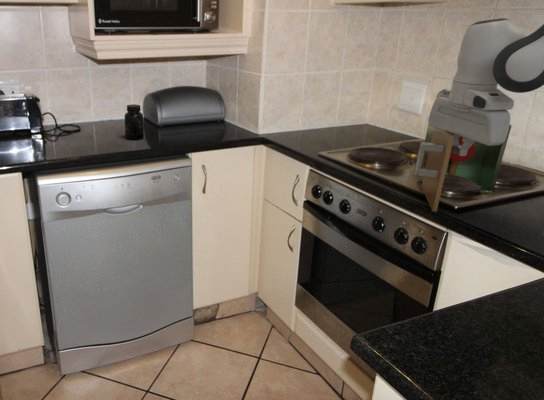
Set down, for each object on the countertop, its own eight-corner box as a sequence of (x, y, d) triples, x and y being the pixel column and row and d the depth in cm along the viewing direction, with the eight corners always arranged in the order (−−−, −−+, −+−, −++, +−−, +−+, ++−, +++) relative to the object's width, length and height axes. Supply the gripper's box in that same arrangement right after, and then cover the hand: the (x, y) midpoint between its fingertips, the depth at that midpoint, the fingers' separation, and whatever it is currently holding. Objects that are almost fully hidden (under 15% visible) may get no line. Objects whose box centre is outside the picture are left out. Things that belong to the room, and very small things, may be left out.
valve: (464, 174, 138) (476, 123, 132) (467, 179, 134) (480, 127, 128) (437, 171, 140) (448, 121, 135) (440, 176, 136) (452, 125, 130)
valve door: (408, 208, 118) (424, 135, 111) (400, 185, 133) (413, 119, 126) (436, 211, 116) (454, 137, 109) (425, 188, 131) (439, 121, 124)
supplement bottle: (139, 134, 181) (139, 103, 176) (146, 139, 175) (145, 106, 170) (122, 136, 178) (121, 104, 173) (128, 141, 172) (127, 108, 168)
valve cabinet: (492, 195, 127) (511, 125, 120) (422, 187, 132) (437, 119, 125) (481, 180, 138) (499, 115, 131) (417, 173, 143) (431, 110, 135)
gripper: (428, 88, 116) (417, 142, 122) (496, 104, 98) (479, 168, 103) (450, 87, 118) (438, 141, 123) (521, 103, 99) (503, 166, 105)
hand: (457, 153), depth 113 cm, fingers closed
